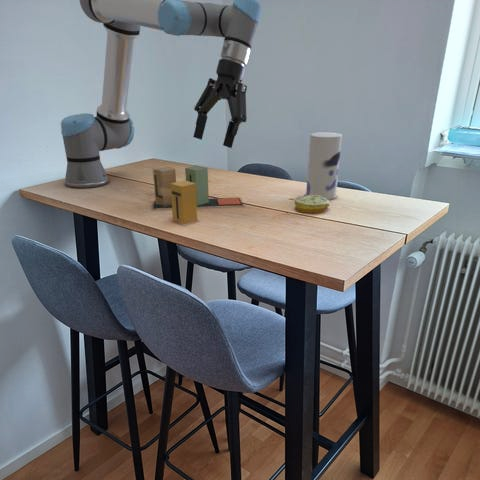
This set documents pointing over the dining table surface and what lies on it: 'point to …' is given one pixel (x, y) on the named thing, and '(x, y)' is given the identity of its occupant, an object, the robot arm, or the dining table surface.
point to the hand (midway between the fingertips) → (211, 142)
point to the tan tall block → (163, 185)
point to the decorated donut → (311, 203)
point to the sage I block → (199, 182)
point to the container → (323, 164)
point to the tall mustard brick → (184, 201)
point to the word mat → (212, 203)
